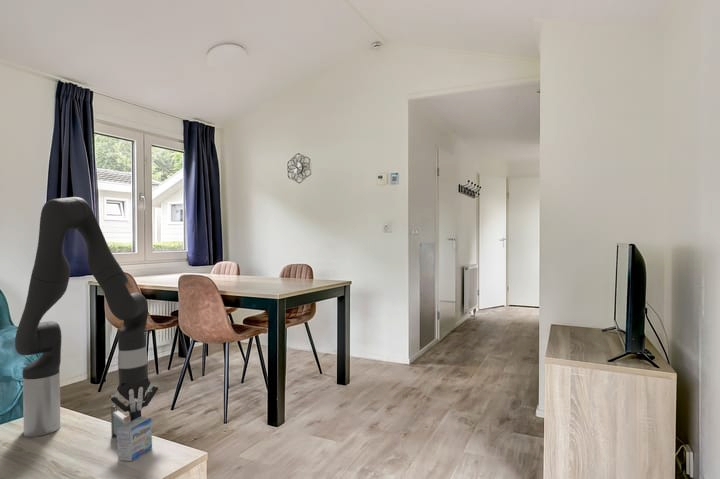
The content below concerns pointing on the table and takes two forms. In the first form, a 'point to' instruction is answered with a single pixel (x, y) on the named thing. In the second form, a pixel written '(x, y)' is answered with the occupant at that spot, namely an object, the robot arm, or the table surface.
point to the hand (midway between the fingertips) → (135, 423)
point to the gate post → (113, 409)
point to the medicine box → (134, 438)
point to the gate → (119, 420)
